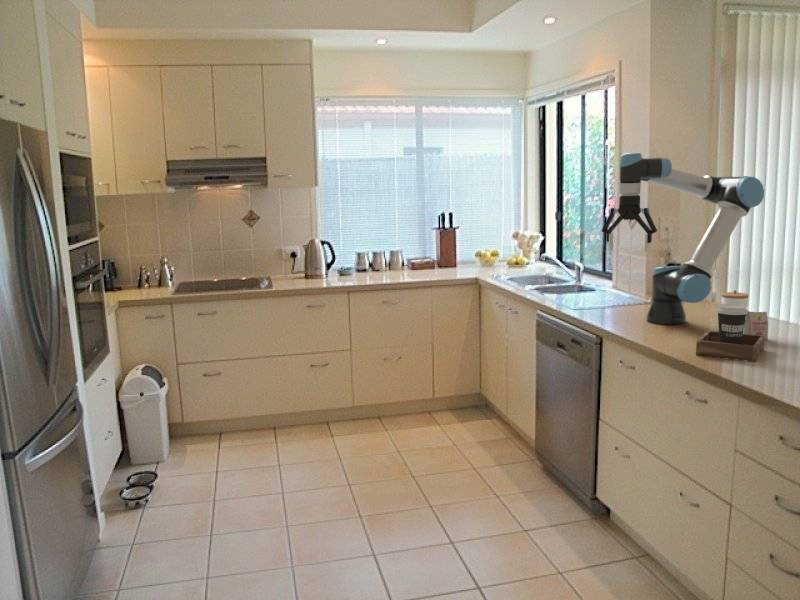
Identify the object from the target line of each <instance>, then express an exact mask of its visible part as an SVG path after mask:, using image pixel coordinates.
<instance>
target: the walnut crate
mask: <svg viewBox="0 0 800 600" xmlns="http://www.w3.org/2000/svg"><path fill="white" fill-rule="evenodd" d="M764 339H765V336H761V335H750V334H744V333H743V338H742V344H731V343H721V342H719V331H714V330H707V331H706V332H705V333H704V334H702V335H701V336H700V337H699V338H698V339H697V340H696V346H695V355H696V356H698V355H702V356H701V357H707V356H712V357H711V358H716V357H720V358H719V359H725V358H728V359H727V360H734V359H738V360H737V361H743V360H747V361H746V362H752V361H755V362H754V363H756V362H757V361H756V360H758V359H759V358H760V356H761V355H762V354H763V352H764V351H763V350H765V340H764ZM758 357H759V358H758Z"/></svg>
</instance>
